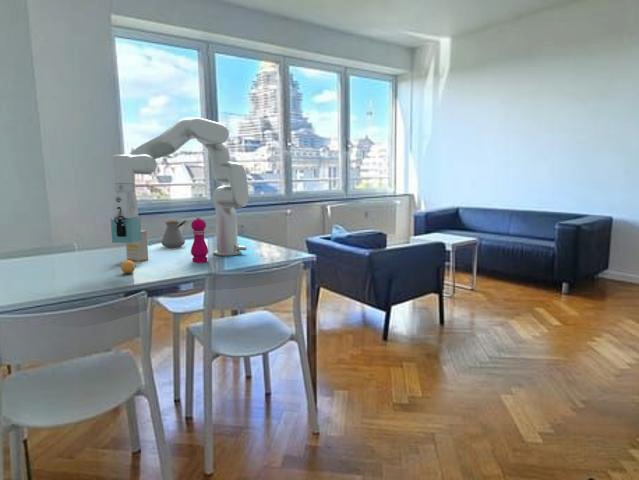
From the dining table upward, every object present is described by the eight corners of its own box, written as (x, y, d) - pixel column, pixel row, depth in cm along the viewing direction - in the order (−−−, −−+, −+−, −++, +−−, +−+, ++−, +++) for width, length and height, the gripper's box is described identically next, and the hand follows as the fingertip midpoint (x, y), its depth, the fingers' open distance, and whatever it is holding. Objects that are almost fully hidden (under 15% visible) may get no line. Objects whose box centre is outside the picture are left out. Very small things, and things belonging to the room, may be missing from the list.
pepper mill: (211, 260, 201) (210, 214, 198) (202, 264, 195) (200, 216, 191) (197, 259, 204) (195, 214, 200) (187, 262, 197) (185, 215, 194)
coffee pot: (157, 246, 234) (156, 217, 232) (179, 244, 242) (178, 215, 239) (176, 253, 218) (174, 221, 216) (198, 250, 226) (197, 219, 223)
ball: (121, 263, 180) (129, 273, 180) (116, 265, 175) (123, 277, 175) (132, 256, 179) (139, 267, 180) (126, 259, 174) (134, 270, 175)
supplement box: (149, 259, 202) (147, 230, 200) (140, 262, 198) (138, 231, 196) (135, 258, 206) (133, 229, 204) (126, 260, 201) (124, 230, 199)
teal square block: (141, 239, 179) (140, 217, 178) (132, 242, 171) (131, 219, 170) (122, 239, 180) (120, 216, 178) (112, 242, 172) (110, 218, 171)
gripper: (122, 189, 164) (125, 238, 166) (144, 187, 181) (146, 231, 184) (102, 189, 164) (105, 238, 167) (125, 187, 181) (128, 231, 184)
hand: (127, 234), depth 175 cm, fingers closed on teal square block, 7 cm apart
